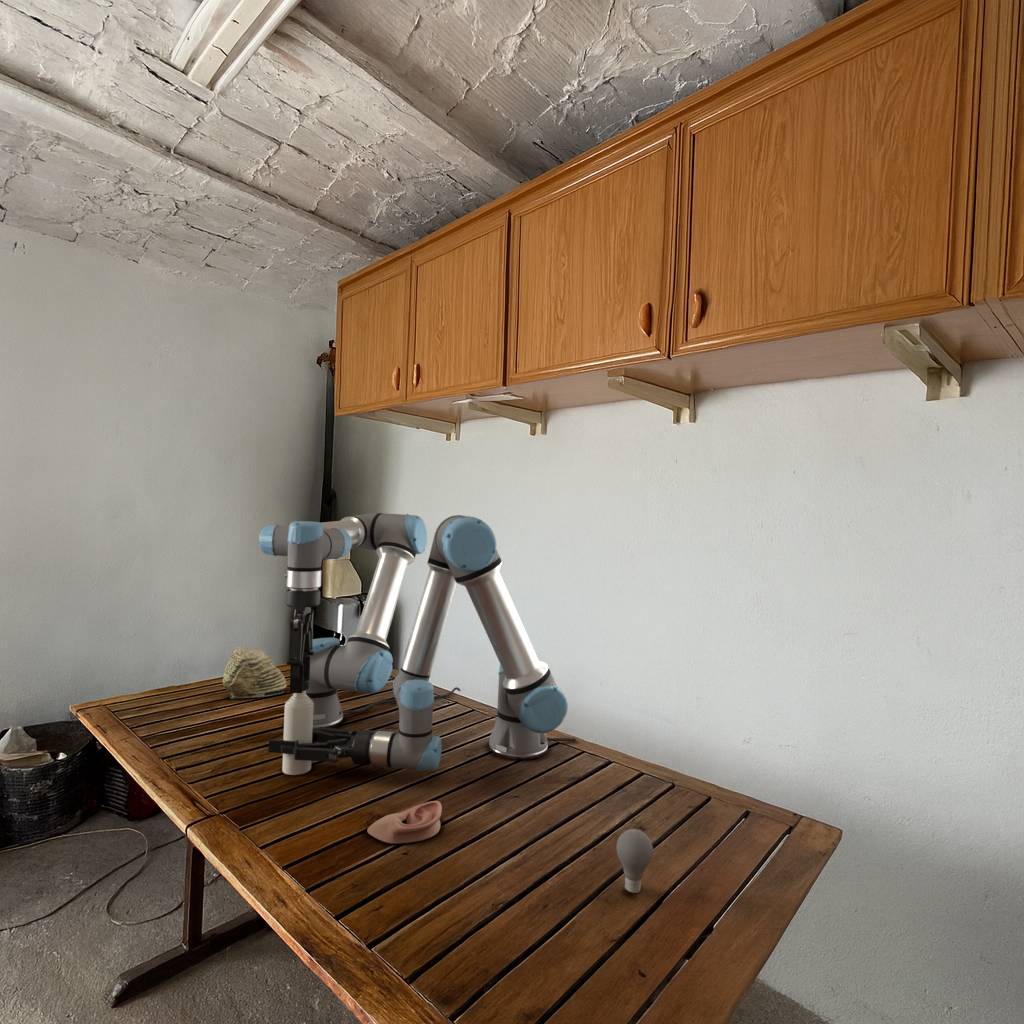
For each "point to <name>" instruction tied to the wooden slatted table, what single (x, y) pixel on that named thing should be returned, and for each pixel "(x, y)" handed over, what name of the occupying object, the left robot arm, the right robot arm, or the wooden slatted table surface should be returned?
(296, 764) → the bottle
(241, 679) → the fossil
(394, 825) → the anatomical model
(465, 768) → the wooden slatted table surface
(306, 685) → the cap
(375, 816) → the wooden slatted table surface
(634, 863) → the light bulb
